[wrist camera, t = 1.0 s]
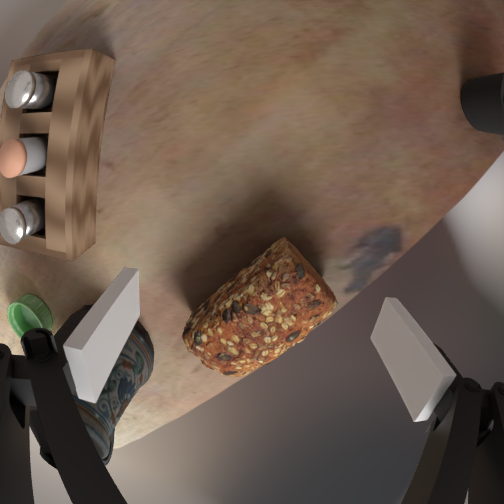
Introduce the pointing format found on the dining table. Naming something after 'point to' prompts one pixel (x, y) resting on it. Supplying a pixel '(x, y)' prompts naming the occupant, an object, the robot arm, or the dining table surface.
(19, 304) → the ramekin
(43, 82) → the plug
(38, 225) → the plug
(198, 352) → the bread
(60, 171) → the block
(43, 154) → the plug terracotta
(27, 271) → the dining table surface
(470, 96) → the pen holder
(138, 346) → the beer stein
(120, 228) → the dining table surface
